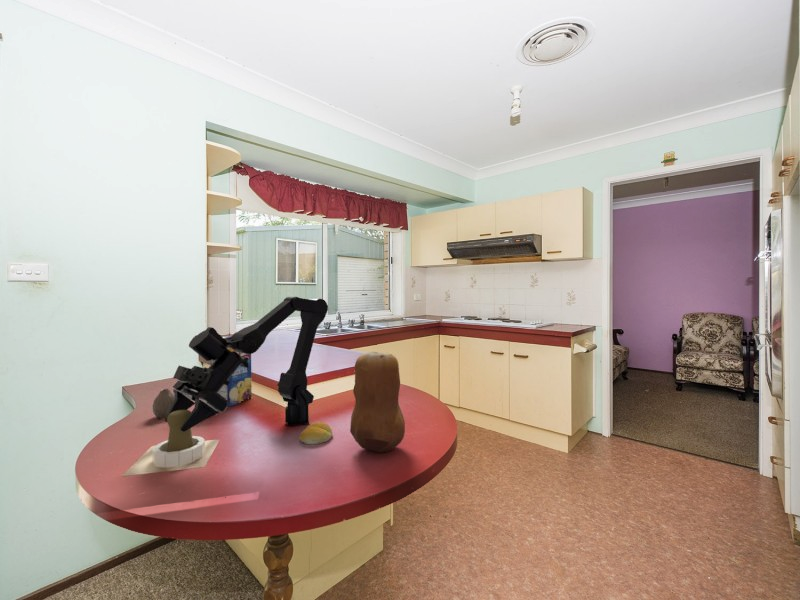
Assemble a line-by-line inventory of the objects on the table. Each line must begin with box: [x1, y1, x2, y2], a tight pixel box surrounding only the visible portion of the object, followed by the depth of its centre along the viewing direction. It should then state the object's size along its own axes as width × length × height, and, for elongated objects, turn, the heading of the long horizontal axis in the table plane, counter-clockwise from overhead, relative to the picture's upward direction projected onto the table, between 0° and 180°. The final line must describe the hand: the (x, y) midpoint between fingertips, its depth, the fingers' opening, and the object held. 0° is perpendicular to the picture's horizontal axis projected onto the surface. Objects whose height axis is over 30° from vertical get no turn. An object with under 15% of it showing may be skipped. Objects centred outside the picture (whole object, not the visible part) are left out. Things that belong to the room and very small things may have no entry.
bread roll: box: [299, 421, 333, 445], centre depth 100 cm, size 8×9×4 cm
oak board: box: [122, 439, 221, 477], centre depth 88 cm, size 16×16×1 cm
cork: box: [166, 409, 194, 452], centre depth 87 cm, size 6×6×11 cm
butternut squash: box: [349, 351, 406, 454], centre depth 93 cm, size 14×13×25 cm
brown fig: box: [152, 388, 175, 419], centre depth 119 cm, size 7×7×9 cm
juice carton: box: [210, 335, 253, 408], centre depth 135 cm, size 12×8×24 cm, turn 161°
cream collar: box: [152, 435, 206, 468], centre depth 87 cm, size 10×10×3 cm
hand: (173, 426), depth 86 cm, fingers open, 9 cm apart
